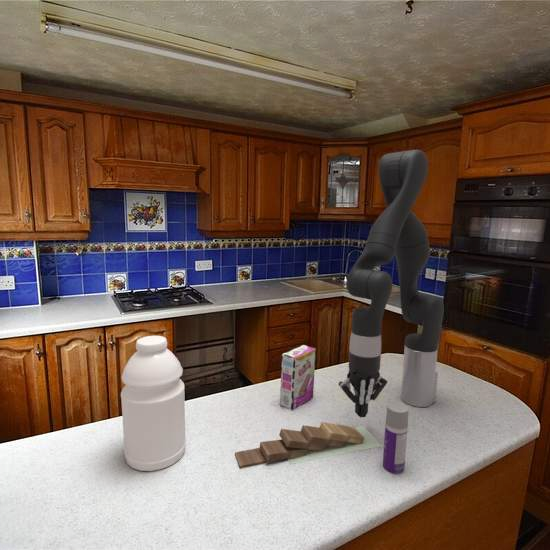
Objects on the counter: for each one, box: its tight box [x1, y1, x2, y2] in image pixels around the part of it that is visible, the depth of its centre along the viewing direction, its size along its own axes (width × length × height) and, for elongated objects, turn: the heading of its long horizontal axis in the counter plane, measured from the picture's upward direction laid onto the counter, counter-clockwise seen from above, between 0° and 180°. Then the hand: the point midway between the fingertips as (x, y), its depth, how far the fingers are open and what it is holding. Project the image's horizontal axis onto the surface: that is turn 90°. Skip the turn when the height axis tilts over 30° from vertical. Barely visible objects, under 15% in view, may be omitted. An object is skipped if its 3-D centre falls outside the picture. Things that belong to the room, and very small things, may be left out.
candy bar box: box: [279, 344, 317, 411], centre depth 112 cm, size 11×5×16 cm, turn 141°
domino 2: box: [259, 438, 307, 461], centre depth 88 cm, size 2×5×10 cm
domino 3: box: [278, 428, 325, 451], centre depth 90 cm, size 2×5×10 cm
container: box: [382, 401, 409, 475], centre depth 83 cm, size 5×5×15 cm
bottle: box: [120, 335, 187, 472], centre depth 86 cm, size 14×14×28 cm
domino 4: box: [300, 424, 346, 447], centre depth 92 cm, size 2×5×10 cm
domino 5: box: [318, 421, 364, 444], centre depth 93 cm, size 2×5×10 cm
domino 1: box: [234, 447, 283, 469], centre depth 87 cm, size 2×5×10 cm
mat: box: [287, 425, 382, 465], centre depth 93 cm, size 24×9×1 cm, turn 108°
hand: (361, 415), depth 94 cm, fingers closed
